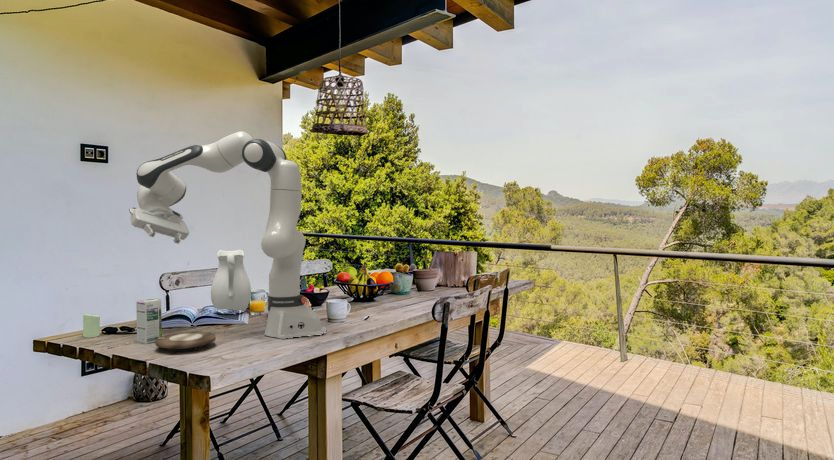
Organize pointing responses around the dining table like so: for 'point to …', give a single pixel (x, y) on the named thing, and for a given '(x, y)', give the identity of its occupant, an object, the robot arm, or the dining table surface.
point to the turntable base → (185, 348)
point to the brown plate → (185, 339)
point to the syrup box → (148, 320)
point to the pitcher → (230, 282)
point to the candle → (91, 326)
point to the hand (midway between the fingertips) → (165, 238)
